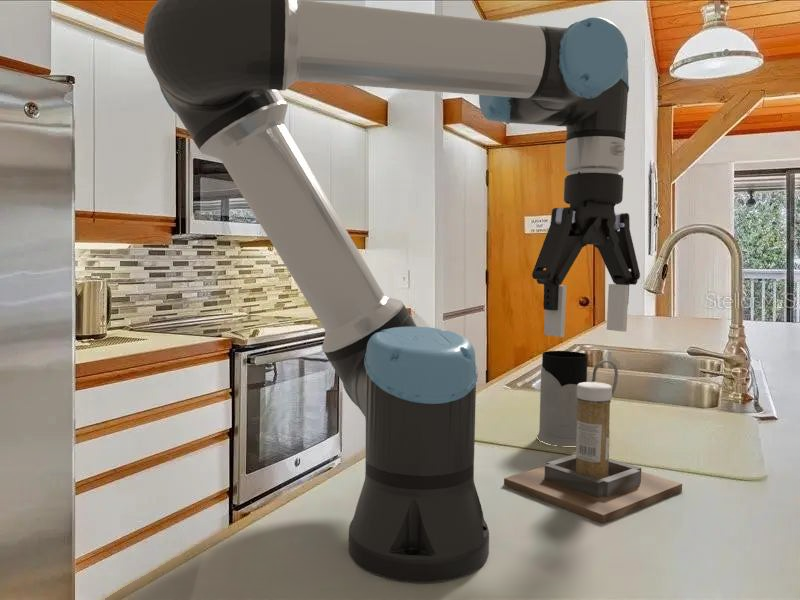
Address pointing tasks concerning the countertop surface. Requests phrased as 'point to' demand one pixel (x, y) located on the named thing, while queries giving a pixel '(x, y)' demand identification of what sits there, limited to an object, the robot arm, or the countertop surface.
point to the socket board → (593, 488)
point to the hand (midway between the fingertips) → (586, 333)
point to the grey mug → (563, 395)
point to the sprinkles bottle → (593, 429)
